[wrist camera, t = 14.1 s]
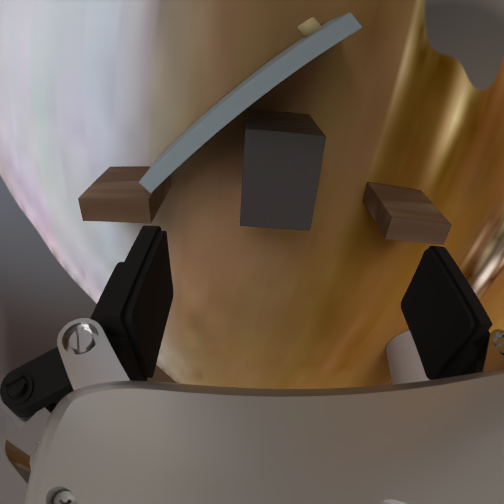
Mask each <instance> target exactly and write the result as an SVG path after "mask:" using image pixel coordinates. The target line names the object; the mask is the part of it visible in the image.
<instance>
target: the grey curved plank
mask: <svg viewBox="0 0 504 504" xmlns="http://www.w3.org/2000/svg"><path fill="white" fill-rule="evenodd" d="M297 28H298V29H299V30H300V31H301V33H302V34H303V35H304V37H303V38H301V39H300V40H299V41H297V42H296V43H294V44H293V45H291V46H290V47H288V48H287V49H286V50H284V51H283V52H281V53H280V54H279V55H277V56H276V57H274V58H273V59H272V60H270V61H269V62H268V63H266V64H265V65H264V66H262V67H261V68H260V69H258V70H257V71H256V72H254V73H253V74H252V75H251V76H249V77H248V78H247V79H246V80H244V81H243V82H242V83H240V84H239V85H238V86H237V87H236V88H234V89H233V90H232V91H231V92H229V93H228V94H227V95H226V96H225V97H223V98H222V99H221V100H220V101H219V102H217V103H216V104H215V105H214V106H213V107H212V108H211V109H209V110H208V111H207V112H206V113H205V114H204V115H203V116H201V117H200V118H199V119H198V120H197V121H196V122H195V123H194V124H192V125H191V126H190V127H189V128H188V129H187V130H186V131H185V132H184V133H183V134H182V135H181V136H180V137H178V138H177V139H176V140H175V141H174V142H173V143H172V144H171V145H170V146H169V147H168V148H167V149H166V150H165V151H164V152H163V153H162V154H161V155H160V156H159V157H158V159H157V160H156V161H155V162H154V163H153V165H152V166H151V167H150V168H149V170H148V171H147V172H146V173H145V175H144V176H143V177H142V178H141V180H140V181H139V183H140V184H141V185H142V186H143V187H144V188H145V189H146V190H148V191H149V192H150V193H151V192H152V191H153V190H155V189H156V188H157V187H158V186H159V185H160V184H161V183H162V182H163V181H164V180H165V179H166V178H167V177H168V176H169V175H170V174H171V173H172V172H173V171H174V170H175V169H177V168H178V167H179V166H180V165H181V164H182V163H183V162H184V161H185V160H186V159H187V158H189V157H190V156H191V155H192V154H193V153H194V152H195V151H196V150H197V149H199V148H200V147H201V146H202V145H203V144H204V143H205V142H207V141H208V140H209V139H210V138H211V137H212V136H214V135H215V134H216V133H217V132H218V131H219V130H221V129H222V128H223V127H224V126H225V125H227V124H228V123H229V122H230V121H231V120H233V119H234V118H235V117H236V116H237V115H239V114H240V113H241V112H242V111H244V110H245V109H246V108H247V107H249V106H250V105H251V104H252V103H254V102H255V101H256V100H258V99H259V98H260V97H261V96H263V95H264V94H265V93H267V92H268V91H269V90H271V89H272V88H273V87H275V86H276V85H277V84H279V83H280V82H281V81H283V80H284V79H286V78H287V77H288V76H290V75H291V74H292V73H294V72H295V71H297V70H298V69H299V68H301V67H302V66H304V65H305V64H307V63H308V62H310V61H311V60H312V59H314V58H315V57H317V56H318V55H320V54H321V53H323V52H324V51H326V50H327V49H329V48H330V47H332V46H334V45H335V44H337V43H338V42H340V41H341V40H343V39H345V38H346V37H348V36H349V35H351V34H353V33H354V32H356V31H358V30H359V29H361V28H362V26H361V25H360V24H359V22H358V21H357V20H356V19H355V17H354V16H353V15H352V14H351V12H350V13H347V14H345V15H342V16H339V17H337V18H334V19H332V20H329V21H328V22H326V23H324V24H323V25H320V24H319V23H318V21H317V20H316V19H315V18H314V17H311V18H309V19H308V20H306V21H305V22H303V23H302V24H300V25H299V26H297Z"/></svg>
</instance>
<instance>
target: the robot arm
mask: <svg viewBox="0 0 504 504" xmlns="http://www.w3.org/2000/svg"><path fill="white" fill-rule="evenodd" d="M172 299H173V284H172V277H171V269H170V260H169V251H168V242H167V233H166V231H161V227H160V226H143V227H142V229H141V231H140V233H139V234H138V236H137V238H136V240H135V242H134V244H133V246H132V248H131V250H130V252H129V254H128V256H127V258H126V260H125V262H119V263H118V264H117V265H116V267H115V269H114V271H113V273H112V275H111V277H110V279H109V281H108V283H107V285H106V287H105V289H104V291H103V293H102V295H101V297H100V299H99V301H98V303H97V305H96V308H95V310H94V312H93V314H92V316H91V319H87V318H84V319H77V320H74V321H72V322H70V323H68V324H67V325H66V326H65V327H64V328H63V329H62V330H61V332H60V333H59V335H58V340H57V344H58V347H56V348H54V349H52V350H50V351H49V352H47V353H45V354H43V355H41V356H39V357H37V358H35V359H33V360H31V361H30V362H28V363H26V364H24V365H22V366H20V367H18V368H16V369H14V370H13V371H11V372H10V373H9V374H7V376H6V377H5V378H4V379H3V382H2V384H1V388H0V504H504V331H503V330H500V329H496V330H493V331H492V332H491V333H489V331H488V330H489V328H490V327H491V326H492V322H491V320H490V319H489V317H488V315H487V313H486V311H485V310H484V308H483V306H482V305H481V303H480V301H479V299H478V298H477V296H476V294H475V293H474V291H473V289H472V288H471V286H470V285H469V283H468V281H467V280H466V278H465V277H464V275H463V274H462V272H461V270H460V269H459V267H458V266H457V264H456V263H455V261H454V260H453V258H452V257H451V255H450V254H449V252H448V251H447V250H446V248H445V247H440V246H430V247H429V248H428V249H427V250H425V252H424V254H423V256H422V259H421V261H420V263H419V265H418V268H417V270H416V272H415V274H414V276H413V278H412V281H411V283H410V285H409V287H408V289H407V291H406V293H405V295H404V297H403V299H402V302H401V309H402V312H403V314H404V317H405V319H406V322H407V324H408V327H409V330H410V332H411V335H412V338H413V340H414V343H415V346H416V348H417V351H418V354H419V357H420V360H421V362H422V365H423V368H424V371H425V374H426V377H427V378H428V379H430V380H427V381H420V382H411V383H402V384H392V385H381V386H368V387H353V388H331V389H255V388H234V387H216V386H202V385H189V384H178V383H165V382H152V381H147V378H148V377H150V378H152V377H153V374H154V370H155V366H156V362H157V358H158V354H159V350H160V346H161V342H162V338H163V334H164V330H165V326H166V322H167V318H168V315H169V311H170V307H171V303H172ZM39 440H40V441H39ZM38 441H39V444H38ZM36 448H37V450H36V454H35V458H34V461H33V465H32V469H30V464H29V462H30V456H31V455H32V453H33V451H34V450H35V449H36Z"/></svg>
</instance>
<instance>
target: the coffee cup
mask: <svg viewBox="0 0 504 504" xmlns="http://www.w3.org/2000/svg"><path fill="white" fill-rule="evenodd" d="M386 354H387V359H388V365H389V370H390V375H391V381H392V384H402V383H411V382H420V381H427V380H430V379H428V378H427V377H426V374H425V371H424V368H423V365H422V362H421V360H420V357H419V354H418V351H417V348H416V346H415V343H414V340H413V338H412V335H411V332H410V330H409V331H405V332H403V333H401V334H399V335H397V336H395V337H394V338H393V339H392V340H391V341H390V342H389V343H388V344H387V346H386Z"/></svg>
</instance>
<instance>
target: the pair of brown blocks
mask: <svg viewBox="0 0 504 504" xmlns="http://www.w3.org/2000/svg"><path fill="white" fill-rule="evenodd" d="M149 168H150V167H109V168H108V169H107V170H106V171H105V172H104V173H103V174H102V175H101V176H100V177H99V178H98V179H97V180H96V181H95V182H94V183H93V184H92V185H91V186H90V187H89V188H88V189H87V190H86V191H85V192H84V193H83V194H82V195H81V196H80V197H79V198H78V200H79V204H80V209H81V214H82V218H83V221H107V222H131V223H151V222H152V221H153V219H154V217H155V215H156V213H157V211H158V209H159V207H160V206H161V204H162V202H163V200H164V198H165V196H166V195H167V193H168V191H169V189H170V188H171V180H170V175H169V176H168V177H167V178H166V179H165V180H164V181H163V182H162V183H161V184H160V185H159V186H158V187H157V188H156V189H155V190H153V191H152V192H151V193H150V192H149V191H148V190H146V189H145V188H144V187H143V186H142V185H141V184H140V183H139V181H140V180H141V178H142V177H143V176H144V175H145V173H146V172H147V171H148V170H149ZM363 202H364V204H365V205H366V207H367V209H368V211H369V212H370V214H371V216H372V217H373V219H374V221H375V223H376V224H377V226H378V228H379V230H380V231H381V233H382V235H383V237H384V239H388V240H399V241H410V242H421V243H431V244H441V245H443V244H444V242H445V240H446V237H447V235H448V232H449V230H450V227H451V224H450V223H449V222H448V220H447V219H446V218H445V217H444V216H443V215H442V213H441V212H440V211H439V210H438V209H437V208H436V207H435V205H434V204H433V203H432V202H431V201H430V200H429V199H428V198H427V197H426V196H425V194H424V193H423V192H422V191H421V190H416V189H410V188H404V187H397V186H391V185H385V184H378V183H371V182H367V186H366V190H365V194H364V198H363Z"/></svg>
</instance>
